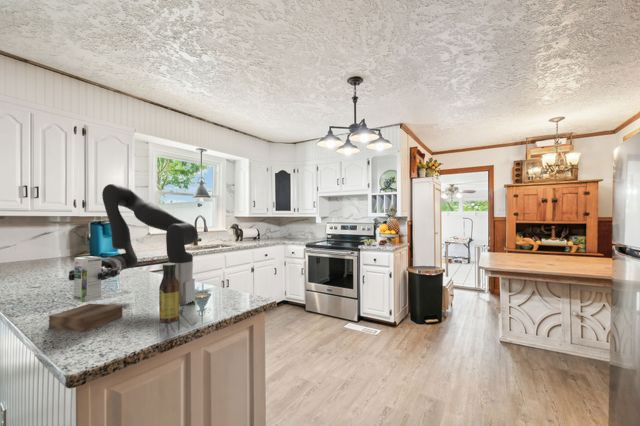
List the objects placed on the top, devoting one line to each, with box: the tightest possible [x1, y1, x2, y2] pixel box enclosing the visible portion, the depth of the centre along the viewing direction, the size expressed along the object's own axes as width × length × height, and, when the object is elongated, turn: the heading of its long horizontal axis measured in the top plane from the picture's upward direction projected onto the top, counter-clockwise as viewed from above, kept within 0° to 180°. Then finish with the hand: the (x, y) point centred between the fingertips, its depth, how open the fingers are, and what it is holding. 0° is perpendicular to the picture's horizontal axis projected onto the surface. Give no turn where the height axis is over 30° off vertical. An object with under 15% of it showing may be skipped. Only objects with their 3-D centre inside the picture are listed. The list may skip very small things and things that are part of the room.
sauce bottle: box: [158, 262, 180, 323], centre depth 104 cm, size 6×6×20 cm
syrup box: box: [73, 255, 102, 303], centre depth 102 cm, size 6×6×14 cm
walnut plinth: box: [48, 303, 123, 332], centre depth 102 cm, size 14×14×4 cm
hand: (84, 277), depth 100 cm, fingers closed on syrup box, 7 cm apart
